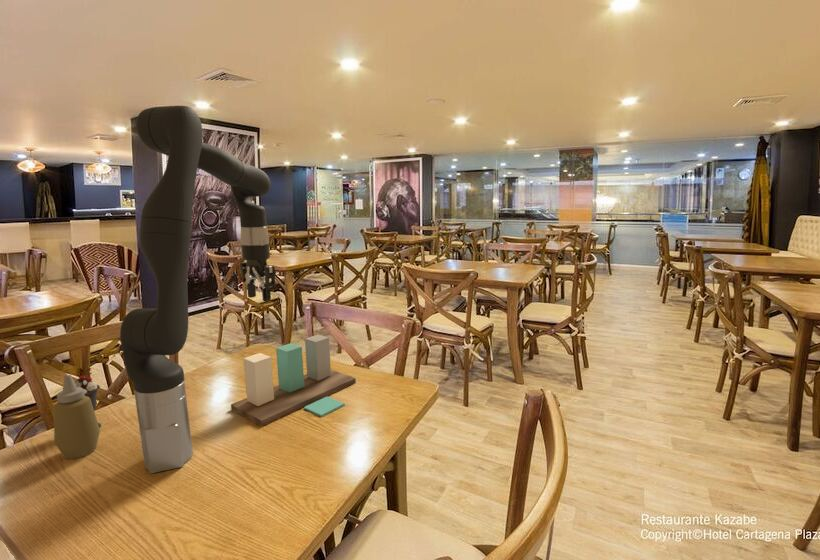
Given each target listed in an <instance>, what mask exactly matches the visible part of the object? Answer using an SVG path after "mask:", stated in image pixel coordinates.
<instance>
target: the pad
mask: <svg viewBox="0 0 820 560" xmlns="http://www.w3.org/2000/svg"><path fill="white" fill-rule="evenodd" d="M345 405H346V404H345V403H344V402H342V401H340V400H338V399H334V398H333V397H330V396H329V395H328V396H326V397H324V398H322V399H320V400H317V401H315V402H313V403H311V404H309V405H307V406H304V407H303V410H305V411H307V412H310V413H312V414H314V415H317V416H318V417H321V418H322V417H324V416H327V415H328V414H330V413H332V412H334V411H336V410H338V409H340V408H341V407H344V406H345Z"/></svg>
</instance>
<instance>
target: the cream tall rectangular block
mask: <svg viewBox="0 0 820 560" xmlns="http://www.w3.org/2000/svg"><path fill="white" fill-rule="evenodd" d="M243 368H244V370H243V371H244V382H245V394H246V398H247V401H248V402H250V403H252V404H254V405H256V406H260V405H262V404H264V403H267V402H269V401H271V400H274V389H273V387H274V377H273V365H272V357H271V356H269V355H266V354H263V353H261V352H259V353H255V354H252V355H250V356H247V357H244V358H243Z"/></svg>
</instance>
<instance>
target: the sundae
mask: <svg viewBox="0 0 820 560" xmlns="http://www.w3.org/2000/svg"><path fill="white" fill-rule="evenodd" d="M91 370H92V368H91V367H88V368H87V370H86V372H85V373H84V374H83V375H81V376H79V378H78V379H75V381H74V382H75V385H76V387H80V388H83V389H84V396H87V397H89V398H90V399H91V402H92V406H93V409H94V412H95V411H96V409H97V393H98V390H99V389H101V387H100V386H101V385H99V384H97V383H96V382H95V381H93V377H91V376H90V375H89V372H90V371H91ZM86 374H87V377H86ZM98 426H99V429H100V428H101V427H102V424H101V423H100V422H98Z"/></svg>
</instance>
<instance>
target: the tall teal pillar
mask: <svg viewBox="0 0 820 560" xmlns="http://www.w3.org/2000/svg"><path fill="white" fill-rule="evenodd" d="M275 351H276V364H277V365H276V366H277V367H276V368H277V379H278V385H279V388H280V389H282V390H284V391H287V392H289V393H290V392H293V391H295V390H298V389H300V388H302V387H304V375H305V374H304V363H303V362H304V359H303V346H302V345H297V344H294V343H291V342H290V343H287V344H284V345H281V346H280V345H279V346H277V347H275Z"/></svg>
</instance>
